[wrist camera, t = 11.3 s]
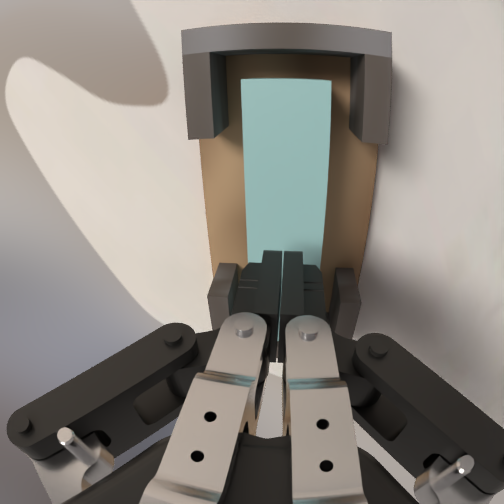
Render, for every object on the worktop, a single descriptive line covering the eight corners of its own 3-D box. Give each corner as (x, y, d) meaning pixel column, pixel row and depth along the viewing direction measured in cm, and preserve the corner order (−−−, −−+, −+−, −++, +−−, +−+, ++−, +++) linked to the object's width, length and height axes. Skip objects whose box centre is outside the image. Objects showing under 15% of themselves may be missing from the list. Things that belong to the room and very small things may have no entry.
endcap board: (377, 37, 13) (403, 28, 9) (347, 318, 24) (353, 362, 20) (197, 35, 14) (169, 26, 11) (221, 312, 25) (209, 355, 21)
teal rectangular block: (321, 79, 14) (331, 80, 11) (309, 294, 22) (310, 342, 18) (254, 78, 15) (240, 79, 11) (259, 292, 22) (251, 339, 18)
